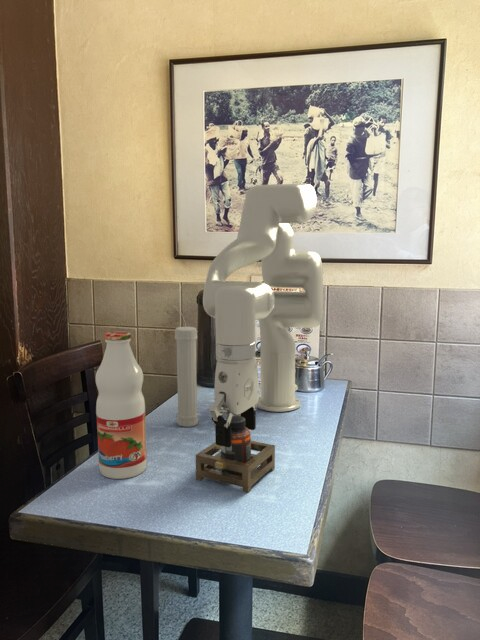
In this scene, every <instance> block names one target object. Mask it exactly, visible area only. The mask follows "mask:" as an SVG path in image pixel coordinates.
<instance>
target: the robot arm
mask: <svg viewBox="0 0 480 640" xmlns="http://www.w3.org/2000/svg"><path fill="white" fill-rule="evenodd" d="M244 197H245V199H244V203H243V207H242V211H241V212H242V213H241V217H240V222H239V227H238V230H237V236H236V239H235V240H232V241H231V242H230V243H229V244H227V246H225V247H224V248H223V249H222V250H221V251H220V252H219V253H218V254H217V255H216V256H215V257H214V259H213V260H212V262H211V264H210V265H209V267H208V270H207V274H206V275H207V276H206V279H205V283H204V288H203V294H202V305H203V309H204V311H205V312H206V314H207V315H208V316H209V317H211V318H215V319H214V320H215V321H214V322H215V323H214V324H215V325H214V326H215V360H216V366H215V373H214V374H215V375H214V389H213V390H214V393H213V394H214V397H213V399H214V400H213V403H212V404H211V406H210V407H209V410H208V411H209V413H210V416H211V421H212V422H213V425H214V426H215V428H214V429H215V430H214V431H215V434H214V435H215V442H214V443H216V445H219V446H224V447H231V445H232V439H231V426H229V424H230V421H231V418H232V416H242V417H244V418H245V423H246V425H245V426H246V427H247V428H248V429H249V430H250V431H255V430H256V428H257V424H256V422H257V421H256V419H257V418H256V415H257V414H256V410H257V408H258V409H260V410H263V411H265V412H266V411H268V412H277V413H278V412H279V413H281V412H291V411H295V410H297V409H299V408H300V407H301V400H300V399H299V398H298V397H296V391H297V390H298V389H299V387H298V385H297V384H296V342H295V339H294V337H293V335H292V334H291V332H290V331H289V330H288V328H302V329H313V328H317V327H318V326H320V325H321V323H322V321H323V314H324V312H323V311H324V309H323V308H324V290H323V289H324V283H323V282H324V278H323V277H324V273H323V271H324V270H323V263H322V258H321V256H320V255H319V254H318V253H317V252H315V251H309V250H296V249H294V248H295V247H294V245H295V243H294V231H293V229H292V227H291V225H290V224H304V223H306V222H308V221H310V219H312V218H313V216H314V214H315V211H316V209H317V202H318V201H317V194H316V190H315V188H314V187H313V185H311V184H310V183H286V184H285V183H281V184H279V183H277V184H275V183H274V184H261V185H260V184H259V185H254V186H252V187H249V188H248V189H247V190H246V193H245V196H244ZM259 261H261V262H260V263H261V276H262V281H263V282H261V281H243V280H242V281H240V280H239V281H238V280H237V281H235V280H227V278H228V277H229V276H230V275H231V274H233V273H234V272H236V271H237V270H240V269H242V268H244V267H246V266H249V265H252V264H255V263H257V262H259ZM271 287H274V288H293V289H294V288H301V289H303V291H284V290H283V291H282V290H280V291H278V290H276V291H275V290H274V291H273V289H272V288H271ZM257 320H258V325H259V331H260V332H259V336H260V338H259V339H260V340H259V341H260V355H259V356H260V365H259V366H260V382H259V371H258V363H257V358H256V357H257V356H256V321H257ZM259 383H260V385H259ZM223 415H226V417H225V418H224V417H223Z"/></svg>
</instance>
